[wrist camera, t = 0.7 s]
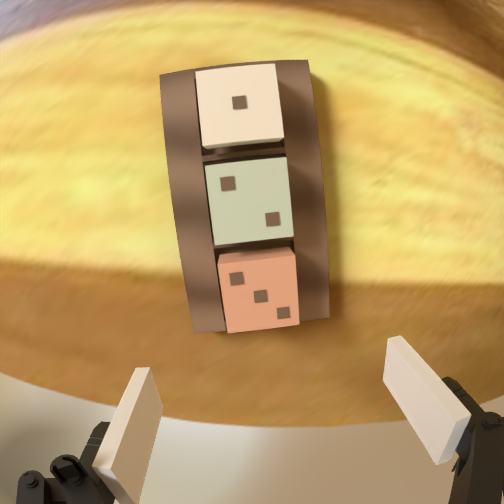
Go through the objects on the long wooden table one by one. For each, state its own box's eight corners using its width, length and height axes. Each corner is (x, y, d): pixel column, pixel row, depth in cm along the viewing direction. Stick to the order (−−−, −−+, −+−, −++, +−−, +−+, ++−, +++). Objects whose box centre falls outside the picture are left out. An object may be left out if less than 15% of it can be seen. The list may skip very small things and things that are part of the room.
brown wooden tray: (165, 81, 25) (159, 74, 23) (303, 67, 26) (307, 59, 23) (197, 323, 31) (194, 333, 29) (323, 308, 31) (329, 317, 29)
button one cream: (199, 82, 23) (195, 71, 20) (270, 75, 24) (274, 63, 20) (206, 149, 25) (202, 145, 22) (278, 141, 25) (284, 137, 22)
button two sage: (208, 166, 25) (204, 165, 22) (280, 159, 25) (286, 156, 22) (217, 237, 27) (214, 245, 24) (287, 229, 27) (293, 236, 24)
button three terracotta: (219, 254, 27) (217, 264, 24) (289, 246, 27) (295, 255, 24) (228, 317, 29) (227, 333, 26) (293, 309, 29) (299, 325, 26)
